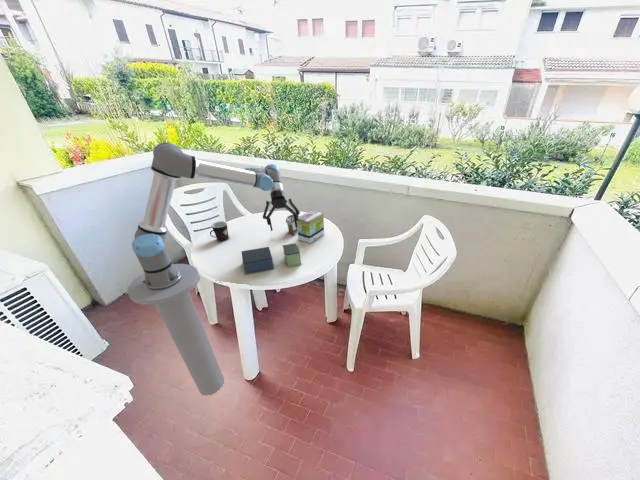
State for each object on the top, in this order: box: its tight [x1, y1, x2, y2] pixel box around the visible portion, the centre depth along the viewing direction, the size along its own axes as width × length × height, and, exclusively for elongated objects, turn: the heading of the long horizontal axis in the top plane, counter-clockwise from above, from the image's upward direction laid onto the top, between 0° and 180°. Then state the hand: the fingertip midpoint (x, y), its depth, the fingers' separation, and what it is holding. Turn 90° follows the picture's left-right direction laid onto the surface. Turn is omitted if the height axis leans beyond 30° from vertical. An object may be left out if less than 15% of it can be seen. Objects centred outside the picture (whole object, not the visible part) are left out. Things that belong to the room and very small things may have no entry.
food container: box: [285, 214, 300, 236], centre depth 183 cm, size 12×6×10 cm, turn 168°
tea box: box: [297, 210, 325, 244], centre depth 176 cm, size 15×10×15 cm
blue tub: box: [240, 246, 274, 275], centre depth 150 cm, size 14×12×7 cm
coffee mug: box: [209, 221, 230, 242], centre depth 173 cm, size 12×9×10 cm
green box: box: [282, 242, 302, 268], centre depth 154 cm, size 7×10×8 cm
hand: (284, 228), depth 156 cm, fingers open, 13 cm apart
